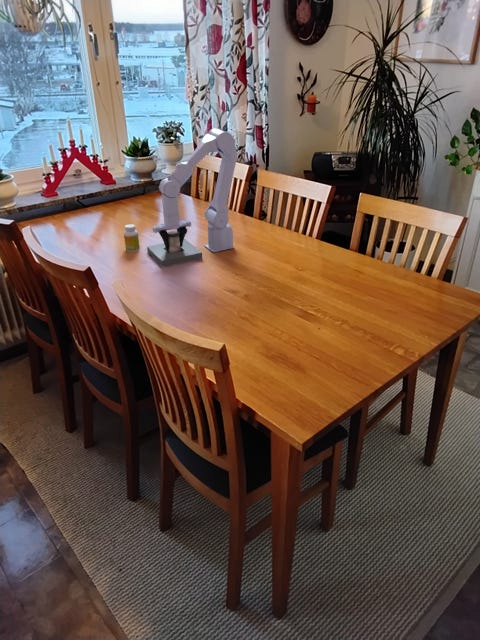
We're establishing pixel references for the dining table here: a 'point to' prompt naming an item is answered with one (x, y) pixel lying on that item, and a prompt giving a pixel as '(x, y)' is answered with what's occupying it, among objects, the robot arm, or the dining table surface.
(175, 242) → the capped peg
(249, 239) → the dining table surface
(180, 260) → the socket block
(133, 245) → the supplement bottle
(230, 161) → the robot arm
